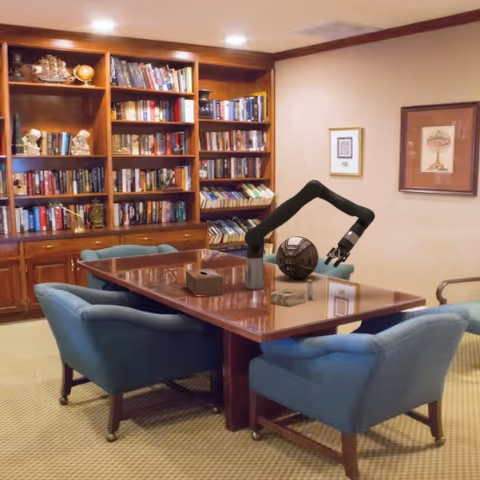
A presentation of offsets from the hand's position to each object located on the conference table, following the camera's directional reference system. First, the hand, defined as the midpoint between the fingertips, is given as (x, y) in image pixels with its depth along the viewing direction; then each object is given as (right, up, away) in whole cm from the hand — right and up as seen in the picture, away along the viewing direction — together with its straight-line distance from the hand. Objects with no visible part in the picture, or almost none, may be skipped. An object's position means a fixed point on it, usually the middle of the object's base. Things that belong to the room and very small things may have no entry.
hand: (329, 265), depth 308 cm
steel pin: (-10, -17, -2) cm, 20 cm away
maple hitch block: (-22, -18, -8) cm, 29 cm away
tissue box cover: (-66, -15, +23) cm, 71 cm away
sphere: (-12, -10, +50) cm, 52 cm away
